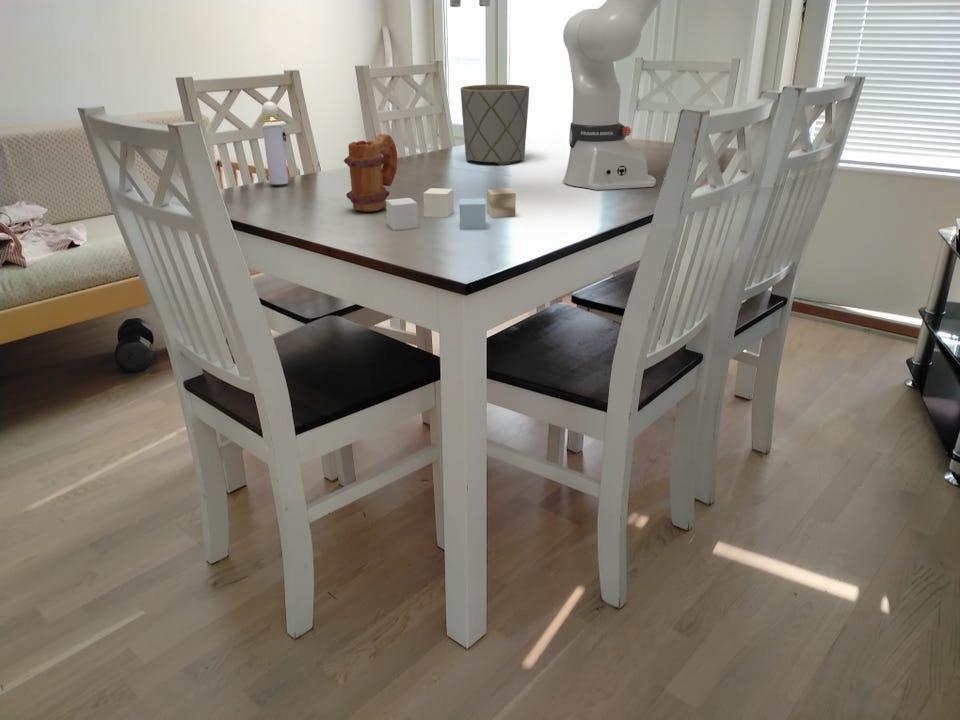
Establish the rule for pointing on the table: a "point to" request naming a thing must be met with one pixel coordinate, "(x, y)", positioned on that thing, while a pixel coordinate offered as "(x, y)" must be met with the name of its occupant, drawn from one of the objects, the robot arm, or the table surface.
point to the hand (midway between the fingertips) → (469, 6)
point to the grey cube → (402, 213)
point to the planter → (495, 122)
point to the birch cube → (501, 202)
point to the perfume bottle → (274, 145)
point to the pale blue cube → (472, 214)
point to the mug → (371, 172)
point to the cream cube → (438, 202)
